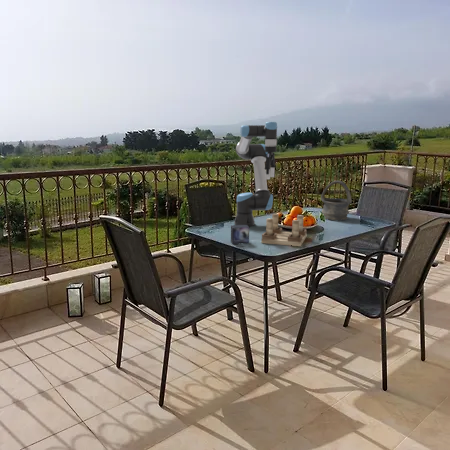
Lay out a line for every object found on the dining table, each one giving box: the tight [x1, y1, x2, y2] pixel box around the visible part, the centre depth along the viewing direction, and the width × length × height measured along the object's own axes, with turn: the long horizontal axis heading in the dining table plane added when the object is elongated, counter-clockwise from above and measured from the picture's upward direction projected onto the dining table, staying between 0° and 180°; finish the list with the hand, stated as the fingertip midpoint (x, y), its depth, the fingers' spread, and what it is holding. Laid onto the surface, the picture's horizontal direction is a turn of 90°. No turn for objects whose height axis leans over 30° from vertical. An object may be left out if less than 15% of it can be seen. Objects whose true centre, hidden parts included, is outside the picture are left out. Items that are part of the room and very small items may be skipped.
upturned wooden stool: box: [261, 213, 308, 247], centre depth 252 cm, size 24×24×14 cm
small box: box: [230, 225, 250, 245], centre depth 247 cm, size 11×6×10 cm, turn 101°
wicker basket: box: [320, 180, 352, 221], centre depth 316 cm, size 22×23×30 cm
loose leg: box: [296, 214, 305, 232], centre depth 257 cm, size 4×4×12 cm
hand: (270, 178), depth 269 cm, fingers open, 13 cm apart
